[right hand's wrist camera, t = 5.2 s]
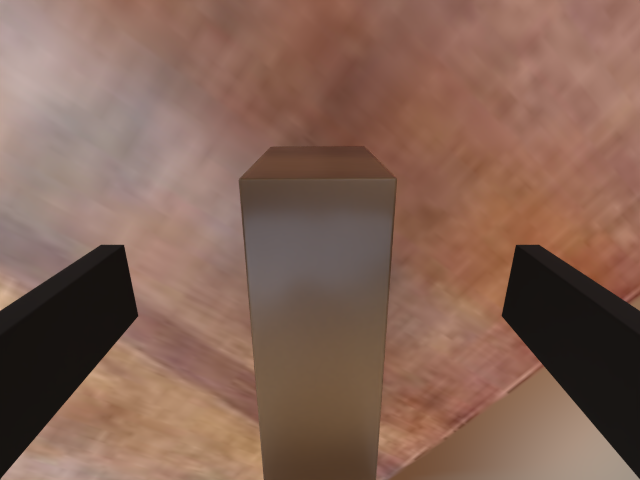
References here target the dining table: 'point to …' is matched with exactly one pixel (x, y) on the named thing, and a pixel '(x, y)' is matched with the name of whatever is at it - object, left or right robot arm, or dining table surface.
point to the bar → (318, 306)
